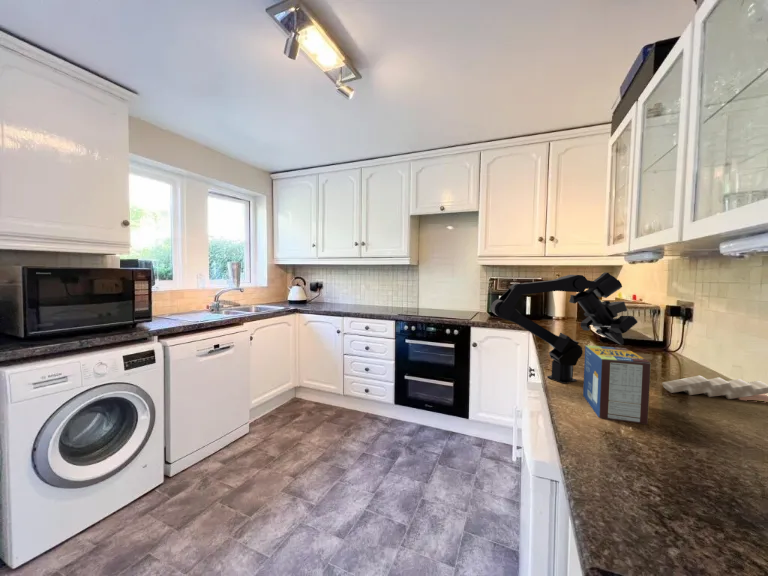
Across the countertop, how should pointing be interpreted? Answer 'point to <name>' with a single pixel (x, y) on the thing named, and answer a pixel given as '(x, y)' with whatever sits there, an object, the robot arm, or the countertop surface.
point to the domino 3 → (736, 386)
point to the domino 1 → (686, 384)
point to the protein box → (617, 383)
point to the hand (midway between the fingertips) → (622, 343)
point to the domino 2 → (716, 385)
